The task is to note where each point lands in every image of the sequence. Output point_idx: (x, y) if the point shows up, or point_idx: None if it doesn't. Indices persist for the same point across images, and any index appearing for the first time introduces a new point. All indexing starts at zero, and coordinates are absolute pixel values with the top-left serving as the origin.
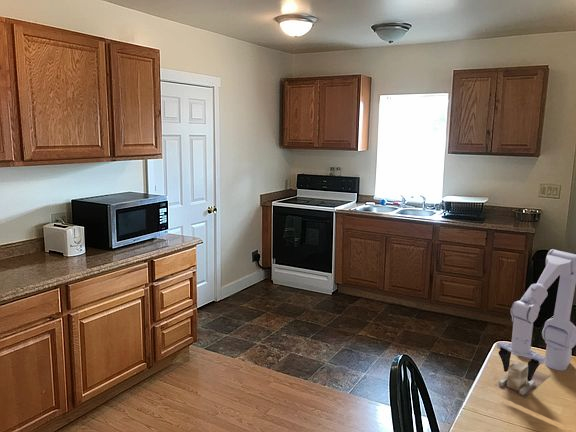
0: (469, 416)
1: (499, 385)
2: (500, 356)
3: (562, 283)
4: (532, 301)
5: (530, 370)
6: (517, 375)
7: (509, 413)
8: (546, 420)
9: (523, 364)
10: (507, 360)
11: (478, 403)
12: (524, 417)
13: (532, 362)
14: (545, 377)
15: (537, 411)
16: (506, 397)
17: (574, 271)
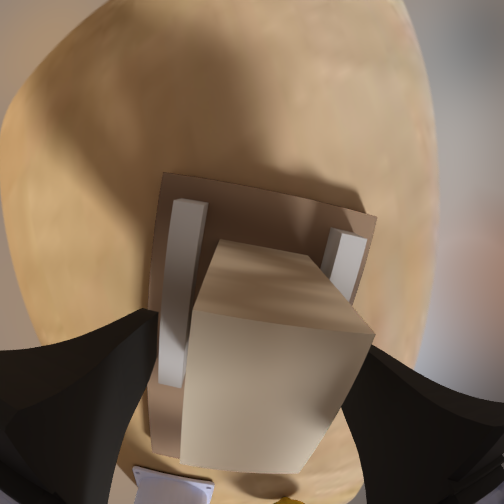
0: None
1: (349, 231)
2: (486, 401)
3: None
4: None
5: (70, 353)
6: (239, 284)
7: (222, 8)
8: (62, 79)
9: (224, 459)
10: (389, 428)
11: (377, 23)
12: (149, 24)
13: None
14: (158, 440)
15: (96, 119)
16: (278, 147)
17: None
